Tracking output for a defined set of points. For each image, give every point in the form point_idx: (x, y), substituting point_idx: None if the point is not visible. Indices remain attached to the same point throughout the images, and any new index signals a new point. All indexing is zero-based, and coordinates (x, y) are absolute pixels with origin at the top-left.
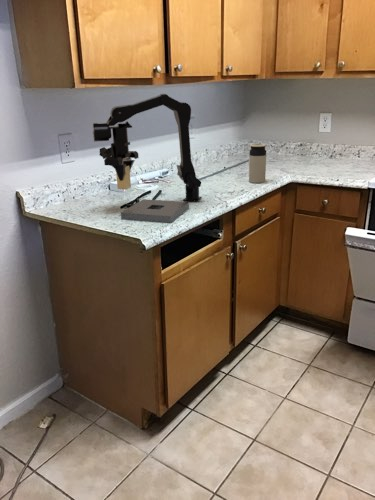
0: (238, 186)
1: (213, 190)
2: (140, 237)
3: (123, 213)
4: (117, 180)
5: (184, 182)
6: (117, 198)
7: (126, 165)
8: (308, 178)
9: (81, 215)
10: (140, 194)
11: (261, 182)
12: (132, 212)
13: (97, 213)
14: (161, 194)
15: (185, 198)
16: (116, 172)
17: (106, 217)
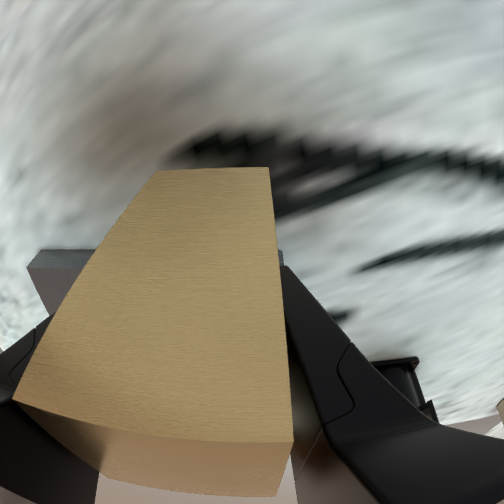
0: (492, 392)
1: (480, 372)
2: (2, 344)
3: (33, 276)
4: (122, 224)
5: (428, 406)
6: (414, 23)
7: (241, 490)
8: (492, 430)
9: (4, 43)
10: (501, 148)
11: (497, 408)
12: (54, 308)
13: (46, 87)
14: (486, 253)
15: (386, 366)
16: (66, 302)
17: (22, 178)
